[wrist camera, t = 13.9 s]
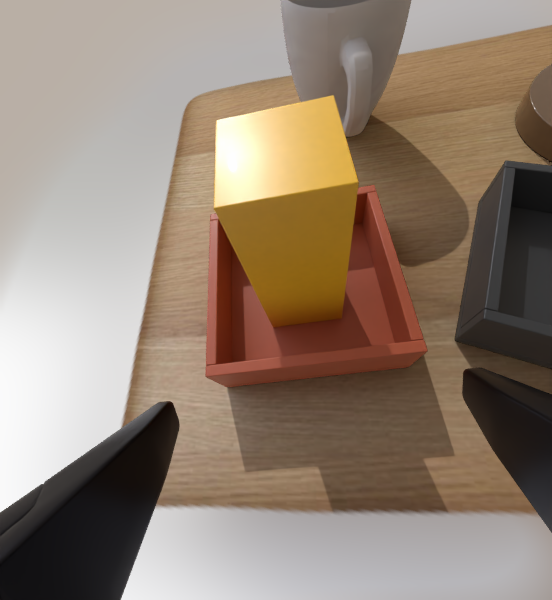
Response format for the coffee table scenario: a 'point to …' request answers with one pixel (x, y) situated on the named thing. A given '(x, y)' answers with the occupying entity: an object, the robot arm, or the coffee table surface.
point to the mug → (344, 51)
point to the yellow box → (289, 206)
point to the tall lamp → (537, 114)
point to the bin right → (511, 267)
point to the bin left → (315, 335)
